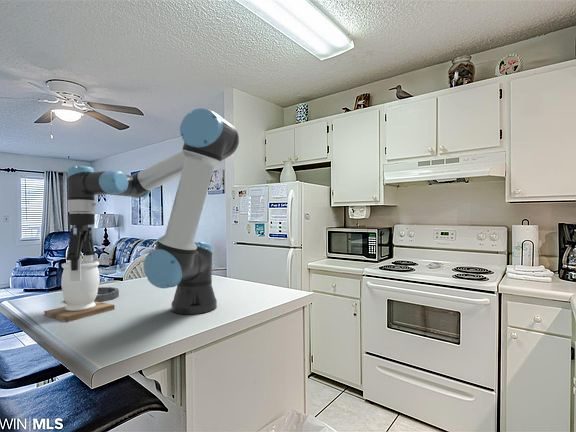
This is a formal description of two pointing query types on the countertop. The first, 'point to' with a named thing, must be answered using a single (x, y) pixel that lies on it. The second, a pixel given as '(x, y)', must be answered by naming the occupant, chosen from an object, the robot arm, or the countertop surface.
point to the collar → (106, 294)
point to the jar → (80, 286)
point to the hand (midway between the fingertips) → (82, 277)
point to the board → (78, 312)
